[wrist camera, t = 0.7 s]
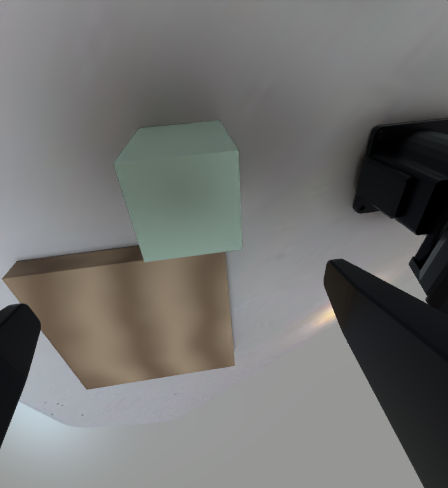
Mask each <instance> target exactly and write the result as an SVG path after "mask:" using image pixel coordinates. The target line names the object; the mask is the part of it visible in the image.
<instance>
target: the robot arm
mask: <svg viewBox="0 0 448 488" xmlns="http://www.w3.org/2000/svg"><path fill="white" fill-rule="evenodd" d="M380 131H382V133H381V135H380V136H379V137H378V134H379V132H380ZM356 192H357V193H356V198H355V202H354V206H353V209H354V210H355V211H356V212H357V213H360V214H361V213H369V212H376V211H381V212H382V213H384V214H385V215H387V216H388V217H389V218H391V219H395V220H397V221H398V222H400V223H401V224H402V225H404V226H405V227H406V228H408V229H409V230H410V231H412V232H413V233H415V234H416V235H423V234H424V235H425V236H426V238H425V240H424V241H423V243H422V245H421V247H420V248H419V250H418V252H417V254H416V255H415V257H412V259H411V260H410V262H409V266H410V268H411V269H412V271H413V273H414V274H415V276H416V278H417V279H418V281H419V283H420V284H421V286H422V288H423V290H424V292H425V293H426V295H427V297H426V302H427V303H428V304H427V303H424V302H423V301H421V300H419V299H417V298H415V297H413V296H412V295H410V294H408V293H406V292H404V291H402V290H400V289H398V288H397V287H395V286H393V285H391V284H389V283H387V282H385V281H383V280H381V279H380V278H378V277H376V276H374V275H372V274H370V273H368V272H366V271H365V270H363V269H361V268H359V267H357V266H355V265H353V264H351V263H349V262H348V261H346V260H344V259H334V260H329V261H328V262H327V264H326V270H325V275H324V287H325V290H326V292H327V295H328V297H329V300H330V302H331V305H332V308H333V310H334V313H335V315H336V318H337V320H338V323H339V325H340V328H341V330H342V332H343V334H344V336H345V338H346V340H347V342H348V344H349V346H350V348H351V350H352V352H353V354H354V355H355V357H356V359H357V361H358V363H359V365H360V367H361V369H362V370H363V372H364V374H365V376H366V378H367V380H368V382H369V384H370V386H371V388H372V390H373V391H374V393H375V395H376V397H377V399H378V401H379V403H380V405H381V407H382V409H383V410H384V412H385V414H386V416H387V418H388V420H389V422H390V424H391V426H392V428H393V429H394V431H395V433H396V435H397V437H398V439H399V441H400V443H401V445H402V446H403V448H404V450H405V452H406V454H407V456H408V458H409V460H410V462H411V463H412V465H413V467H414V469H415V471H416V473H417V475H418V477H419V479H420V481H421V483H422V484H423V486H424V488H448V118H444V119H434V120H425V121H416V122H406V123H397V124H387V125H379V126H377V127H375V128H374V129H373V131H372V133H371V136H370V140H369V144H368V148H367V152H366V156H365V160H364V162H363V166H362V170H361V174H360V178H359V182H358V186H357V191H356ZM361 205H362V207H361V208H359V207H360V206H361ZM40 330H41V322H40V320H39V319H38V317H37V316H36V315H35V313H34V312H33V311H32V309H31V308H30V307H29V306H28V305H27V304H25V303H20V304H13V305H9V306H7V307H5V308H4V309H2V310H1V311H0V448H1V445H2V442H3V440H4V437H5V435H6V432H7V430H8V427H9V425H10V422H11V419H12V417H13V414H14V412H15V409H16V406H17V404H18V401H19V399H20V396H21V393H22V391H23V388H24V385H25V383H26V380H27V377H28V373H29V370H30V366H31V363H32V359H33V356H34V352H35V348H36V345H37V341H38V337H39V334H40Z"/></svg>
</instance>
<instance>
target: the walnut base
mask: <svg viewBox="0 0 448 488" xmlns="http://www.w3.org/2000/svg"><path fill="white" fill-rule="evenodd" d="M2 280H3V281H4V282H5V284H6V285H7V286H8V288H9V289H10V290H11V291H12V293H13V294H14V295H15V297H16V298H17V299H18V301H19V302H20V303H25V304H27V305H28V306H29V307H30V308H31V309H32V311H33V312H34V313H35V315H36V316H37V317H38V319H39V320H40V322H41V331H42V332H43V333H44V335H45V336H46V337H47V338H48V340H49V341H50V342H51V344H52V345H53V346H54V348H55V349H56V350H57V352H58V353H59V354H60V355H61V357H62V358H63V359H64V361H65V362H66V363H67V365H68V366H69V367H70V368H71V370H72V371H73V372H74V374H75V375H76V376H77V378H78V379H79V380H80V382H81V383H82V384H83V385H84V387H85V388H86V389H93V388H100V387H106V386H112V385H118V384H124V383H131V382H137V381H143V380H149V379H155V378H162V377H168V376H174V375H180V374H186V373H193V372H199V371H205V370H211V369H217V368H224V367H230V366H235V362H234V350H233V338H232V327H231V315H230V303H229V291H228V279H227V267H226V255H225V252H219V253H211V254H204V255H196V256H189V257H181V258H173V259H166V260H158V261H151V262H144V259H143V256H142V253H141V250H140V247H139V246H133V247H126V248H118V249H110V250H102V251H95V252H87V253H79V254H71V255H63V256H56V257H48V258H40V259H32V260H25V261H17V262H16V263H15V264H14V265H13V267H12V268H11V269H10V270H9V271H8V272H7V274H6V275H5V276H4V277H3V278H2Z"/></svg>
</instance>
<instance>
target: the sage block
mask: <svg viewBox="0 0 448 488" xmlns="http://www.w3.org/2000/svg"><path fill="white" fill-rule="evenodd" d="M113 165H114V168H115V171H116V175H117V178H118V181H119V184H120V187H121V190H122V193H123V196H124V200H125V203H126V206H127V209H128V212H129V215H130V218H131V222H132V225H133V228H134V231H135V234H136V237H137V240H138V243H139V247H140V250H141V253H142V256H143V259H144V262H151V261H158V260H166V259H173V258H181V257H189V256H196V255H204V254H211V253H219V252H226V251H234V250H241V249H242V229H241V202H240V175H239V150H238V149H237V147H236V145H235V144H234V142H233V141H232V139H231V138H230V136H229V134H228V133H227V131H226V130H225V128H224V127H223V125H222V123H221V122H220V120H216V121H206V122H197V123H187V124H177V125H167V126H157V127H147V128H139V129H138V130H137V131H136V133H135V134H134V135H133V137H132V138H131V140H130V141H129V142H128V144H127V145H126V147H125V148H124V149H123V151H122V152H121V154H120V155H119V156H118V158H117V159H116V160H115V162H114V163H113Z"/></svg>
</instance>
